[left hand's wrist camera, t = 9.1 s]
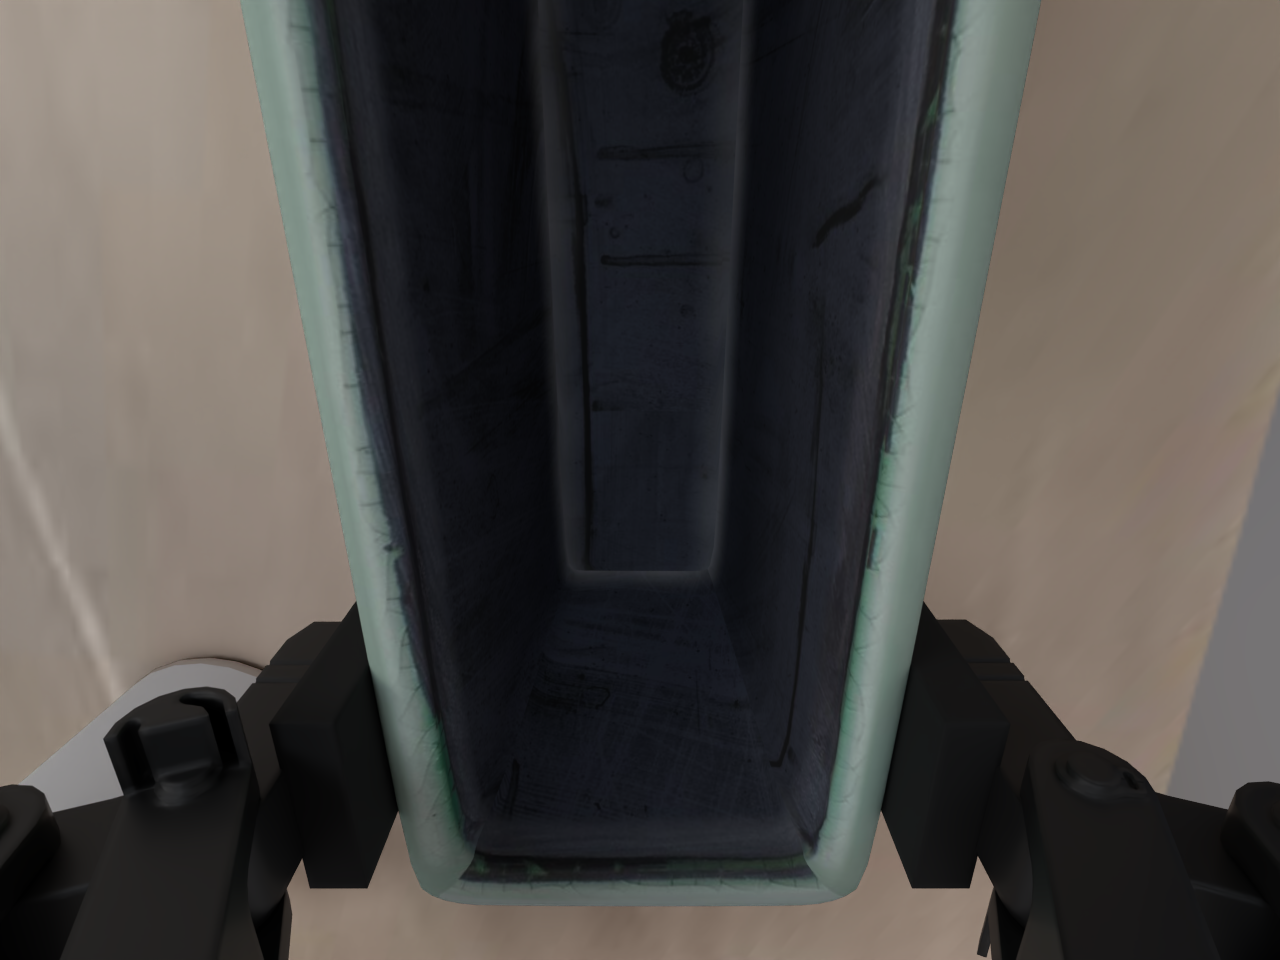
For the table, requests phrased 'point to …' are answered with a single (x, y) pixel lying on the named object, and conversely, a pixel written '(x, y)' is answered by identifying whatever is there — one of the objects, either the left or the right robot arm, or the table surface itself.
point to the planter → (640, 408)
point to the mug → (84, 759)
